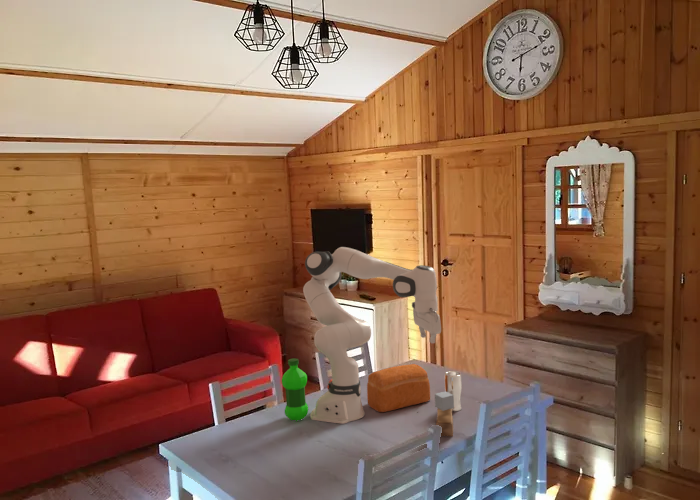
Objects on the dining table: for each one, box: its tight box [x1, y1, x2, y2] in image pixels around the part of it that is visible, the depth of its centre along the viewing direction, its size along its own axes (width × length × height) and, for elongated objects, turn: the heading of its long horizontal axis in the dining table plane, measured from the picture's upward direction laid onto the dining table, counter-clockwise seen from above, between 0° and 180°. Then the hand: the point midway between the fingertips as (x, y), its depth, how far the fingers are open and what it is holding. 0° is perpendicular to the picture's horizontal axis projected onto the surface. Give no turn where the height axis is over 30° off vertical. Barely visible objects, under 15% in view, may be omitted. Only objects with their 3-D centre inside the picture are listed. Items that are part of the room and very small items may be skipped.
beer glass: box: [444, 370, 463, 412], centre depth 246 cm, size 7×7×15 cm
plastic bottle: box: [281, 358, 309, 422], centre depth 243 cm, size 10×10×25 cm
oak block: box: [436, 408, 453, 423], centre depth 223 cm, size 5×5×5 cm
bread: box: [366, 363, 431, 413], centre depth 256 cm, size 14×26×16 cm, turn 116°
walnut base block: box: [435, 416, 454, 437], centre depth 224 cm, size 6×6×5 cm
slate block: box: [434, 390, 454, 411], centre depth 223 cm, size 5×5×5 cm
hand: (427, 339), depth 239 cm, fingers open, 8 cm apart
